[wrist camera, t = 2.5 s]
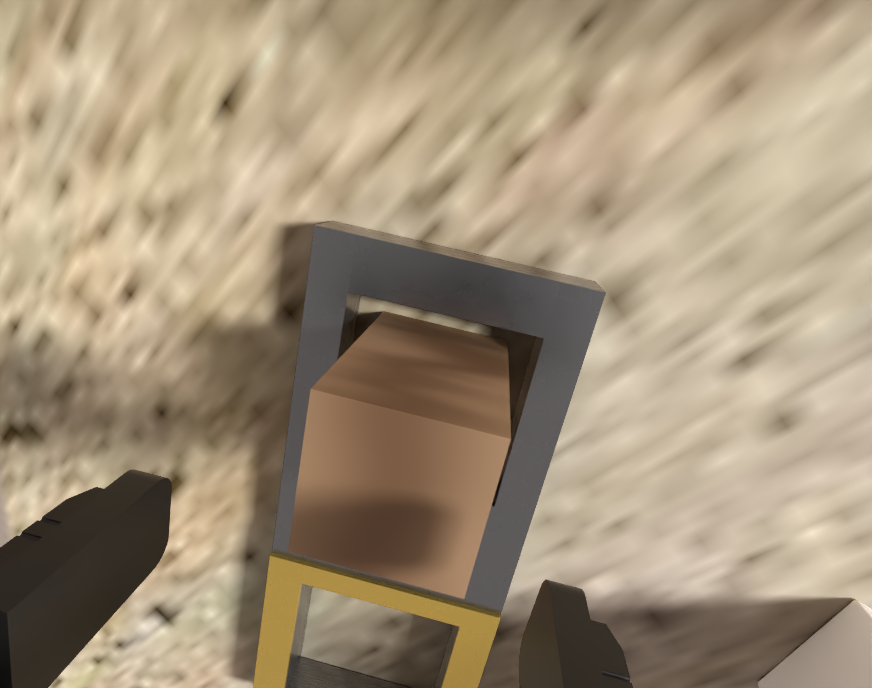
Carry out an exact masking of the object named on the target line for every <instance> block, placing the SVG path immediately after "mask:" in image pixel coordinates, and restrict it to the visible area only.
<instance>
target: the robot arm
mask: <svg viewBox="0 0 872 688" xmlns="http://www.w3.org/2000/svg"><path fill="white" fill-rule="evenodd" d="M171 489H172V486H171V482H170V480H169V479H168V478H164V477H161V476H157V475H153V474H149V473H145V472H142V471H138V470H130V471H127V472H126V473H124V474H123V475H122V476H121V477H119V478H118V479H117V480H115V481H114V482H113V483H112V484H110V485H109V486H108V487H106V488H105V489H102V488H98V487H95V488H93V489H90V490H88V491H86V492H83V493H81V494H78V495H76V496H73V497H71V498H69V499H66V500H65V501H64V502H62V503H61V504H59V505H58V506H57V507H55V508H54V509H53V510H51V511H50V512H48V513H47V514H46V515H44V516H43V517H42V519H41V521H36V522H35V523H33V524H32V525H31V526H29V527H28V528H27V529H25V530H24V531H22V534H21V535H20V536H16V537H14V538H13V539H11V540H10V541H9V542H7V543H6V544H5V545H3V546H2V547H0V688H48V687H49V686H50V685H51V684H52V683H53V681H54V680H55V679H56V678H57V677H58V676H59V675H60V674H61V672H62V671H63V670H64V669H65V668H66V667H67V666H68V665H69V664H70V662H71V661H72V660H73V659H74V658H75V657H76V656H77V655H78V653H79V652H80V651H81V650H82V649H83V648H84V647H85V646H86V644H87V643H88V642H89V641H90V640H91V639H92V638H93V637H94V636H95V634H96V633H97V632H98V631H99V630H100V629H101V628H102V627H103V625H104V624H105V623H106V622H107V621H108V620H109V619H110V618H111V617H112V615H113V614H114V613H115V612H116V611H117V610H118V609H119V608H120V606H121V605H122V604H123V603H124V602H125V601H126V600H127V599H128V598H129V596H130V595H131V594H132V593H133V592H134V591H135V590H136V589H137V587H138V586H139V585H140V584H141V583H142V582H143V581H144V580H145V579H146V577H147V576H148V575H149V574H150V573H151V572H152V571H153V569H154V568H155V567H156V566H157V564H158V563H159V561H160V559H161V557H162V556H163V553H164V551H165V549H166V546H167V542H168V537H169V522H170V506H171ZM519 684H520V688H633V686H632V683H630V676H629V672H628V668H627V665H626V661H625V657H624V654H623V650H622V648H621V647H620V645H619V644H618V642H617V641H616V639H615V638H614V636H613V635H612V633H611V631H610V630H609V628H608V627H607V625H606V624H603V623H599V622H596V621H592V620H590V616H589V611H588V607H587V602H586V597H585V594H584V591H583V590H582V589H580V588H576V587H572V586H568V585H564V584H561V583H557V582H553V581H549V580H545V581H544V582H543V583H542V585H541V588H540V591H539V593H538V596H537V599H536V602H535V604H534V607H533V610H532V613H531V615H530V618H529V621H528V624H527V626H526V629H525V632H524V635H523V638H522V643H521V648H520V656H519Z"/></svg>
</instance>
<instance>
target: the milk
mask: <svg viewBox="0 0 872 688" xmlns="http://www.w3.org/2000/svg"><path fill="white" fill-rule="evenodd" d="M758 687H759V688H872V609H871V608H869V607H868V606H866V605H864V604H863V603H861V602H859V601H857V600H854V601H852V602H851V603H850V604H849V605H848V606H846V607H845V608H844V609H843V610H842V611H841V612H839V613H838V614H837V615H836V616H835V617H834V618H832V619H831V620H830V621H829V622H828V623H826V624H825V625H824V626H823V627H822V628H821V629H819V630H818V631H817V632H816V633H815V634H814V635H812V636H811V637H810V638H809V639H808V640H807V641H805V642H804V643H803V644H802V645H801V646H800V647H798V648H797V649H796V650H795V651H794V652H793V653H791V654H790V655H789V656H788V657H787V658H786V659H784V660H783V661H782V662H781V663H780V664H779V665H777V666H776V667H775V668H774V669H773V670H772V671H770V672H769V673H768V674H767V675H766V676H765V677H763V678H762V679H761V680H760V681H759V682H758Z"/></svg>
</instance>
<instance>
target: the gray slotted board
mask: <svg viewBox="0 0 872 688" xmlns="http://www.w3.org/2000/svg"><path fill="white" fill-rule="evenodd" d="M605 293H606V292H605V291H604V290H603V289H602V288H601V287H600V286H599V285H598V284H597V283H596V282H595V281H591V280H586V279H582V278H578V277H573V276H569V275H565V274H560V273H556V272H552V271H547V270H543V269H539V268H534V267H530V266H526V265H522V264H517V263H513V262H509V261H504V260H500V259H496V258H491V257H487V256H483V255H478V254H474V253H470V252H465V251H461V250H457V249H452V248H448V247H444V246H439V245H435V244H431V243H426V242H422V241H418V240H413V239H409V238H405V237H400V236H396V235H392V234H387V233H383V232H379V231H374V230H370V229H366V228H361V227H357V226H353V225H348V224H344V223H340V222H335V221H331V222H326V223H321V224H316V225H314V232H313V239H312V247H311V255H310V263H309V270H308V278H307V286H306V294H305V301H304V309H303V317H302V324H301V332H300V340H299V348H298V355H297V363H296V371H295V378H294V386H293V394H292V402H291V409H290V417H289V425H288V433H287V440H286V448H285V456H284V463H283V471H282V479H281V487H280V494H279V502H278V510H277V517H276V525H275V533H274V541H273V548H272V553H271V555H270V559H269V567H268V575H267V582H266V590H265V598H264V606H263V614H262V621H261V629H260V637H259V645H258V653H257V660H256V668H255V676H254V684H253V688H409V687H406V686H402V685H398V684H395V683H391V682H388V681H384V680H381V679H377V678H374V677H370V676H367V675H363V674H359V673H356V672H352V671H349V670H345V669H342V668H338V667H335V666H331V665H328V664H324V663H320V662H317V661H313V660H310V659H306V658H303V657H301V652H302V646H303V640H304V634H305V628H306V622H307V616H308V610H309V603H310V597H311V591H312V586H313V587H316V588H320V589H324V590H327V591H331V592H335V593H338V594H342V595H346V596H349V597H353V598H357V599H360V600H364V601H368V602H371V603H375V604H379V605H382V606H386V607H389V608H393V609H397V610H400V611H404V612H408V613H411V614H415V615H419V616H422V617H426V618H430V619H433V620H437V621H441V622H444V623H448V624H452V625H453V626H452V630H451V633H450V637H449V640H448V643H447V647H446V650H445V654H444V657H443V661H442V664H441V668H440V671H439V675H438V678H437V681H436V685H435V688H478V686H479V683H480V680H481V676H482V673H483V670H484V667H485V664H486V661H487V658H488V655H489V652H490V649H491V646H492V643H493V640H494V637H495V634H496V631H497V628H498V625H499V622H500V619H501V612H502V609H503V606H504V602H505V599H506V596H507V593H508V590H509V587H510V584H511V581H512V578H513V575H514V572H515V569H516V566H517V563H518V560H519V557H520V554H521V550H522V547H523V544H524V541H525V538H526V535H527V532H528V529H529V526H530V523H531V520H532V517H533V514H534V511H535V508H536V505H537V502H538V498H539V495H540V492H541V489H542V486H543V483H544V480H545V477H546V474H547V471H548V468H549V465H550V462H551V459H552V456H553V453H554V450H555V446H556V443H557V440H558V437H559V434H560V431H561V428H562V425H563V422H564V419H565V416H566V413H567V410H568V407H569V404H570V401H571V397H572V394H573V391H574V388H575V385H576V382H577V379H578V376H579V373H580V370H581V367H582V364H583V361H584V358H585V355H586V352H587V349H588V345H589V342H590V339H591V336H592V333H593V330H594V327H595V324H596V321H597V318H598V315H599V312H600V309H601V306H602V303H603V300H604V297H605ZM361 295H365V296H369V297H373V298H377V299H381V300H386V301H390V302H394V303H398V304H402V305H407V306H411V307H415V308H419V309H423V310H427V311H432V312H436V313H440V314H444V315H448V316H453V317H457V318H461V319H465V320H469V321H474V322H478V323H482V324H486V325H490V326H494V327H499V328H503V329H507V330H511V331H515V332H520V333H524V334H528V335H532V336H536V340H535V343H534V346H533V350H532V353H531V357H530V360H529V364H528V367H527V371H526V374H525V378H524V381H523V384H522V388H521V391H520V395H519V398H518V402H517V405H516V409H515V412H514V416H513V419H512V422H511V441H510V444H509V448H508V451H507V454H506V458H505V461H504V465H503V468H502V472H501V475H500V478H499V482H498V485H497V489H496V492H495V495H494V499H493V502H492V506H491V509H490V513H489V516H488V519H487V523H486V526H485V530H484V533H483V536H482V540H481V543H480V547H479V550H478V554H477V557H476V560H475V564H474V567H473V571H472V574H471V577H470V581H469V584H468V588H467V591H466V595H465V598H464V599H462V598H458V597H455V596H451V595H447V594H443V593H440V592H436V591H432V590H429V589H425V588H421V587H418V586H414V585H410V584H406V583H403V582H399V581H395V580H392V579H388V578H384V577H380V576H377V575H373V574H369V573H366V572H362V571H358V570H354V569H351V568H347V567H343V566H340V565H336V564H332V563H328V562H325V561H321V560H317V559H314V558H310V557H306V556H302V555H299V554H295V553H291V552H288V545H289V538H290V531H291V524H292V517H293V510H294V503H295V496H296V489H297V482H298V475H299V468H300V461H301V453H302V446H303V439H304V432H305V425H306V418H307V411H308V404H309V397H310V390H311V388H312V387H313V386H314V385H315V384H316V383H317V382H318V381H319V379H320V378H321V377H322V376H323V375H324V374H325V373H326V372H327V371H328V370H329V369H330V368H331V367H332V366H333V365H334V364H335V362H336V361H337V360H338V359H339V358H340V357H341V356H342V355H343V354H344V353H345V352H346V351H347V350H348V349H349V348H350V347H351V345H352V344H353V338H354V332H355V326H356V320H357V314H358V308H359V302H360V296H361Z"/></svg>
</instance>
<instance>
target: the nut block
mask: <svg viewBox="0 0 872 688" xmlns="http://www.w3.org/2000/svg"><path fill="white" fill-rule="evenodd" d="M510 441H511V423H510V392H509V361H508V341H505V340H501V339H497V338H493V337H489V336H484V335H480V334H476V333H472V332H468V331H464V330H459V329H455V328H451V327H447V326H443V325H439V324H434V323H430V322H426V321H422V320H418V319H414V318H409V317H405V316H401V315H397V314H393V313H389V312H383V313H382V314H381V315H380V316H379V317H378V318H377V319H376V320H375V321H374V322H373V323H372V324H371V325H370V326H369V327H368V329H367V330H366V331H365V332H364V333H363V334H362V335H361V336H360V337H359V338H358V339H357V340H356V341H355V342H354V343H353V344H352V345H351V347H350V348H349V349H348V350H347V351H346V352H345V353H344V354H343V355H342V356H341V357H340V358H339V359H338V360H337V361H336V362H335V364H334V365H333V366H332V367H331V368H330V369H329V370H328V371H327V372H326V373H325V374H324V375H323V376H322V377H321V378H320V379H319V381H318V382H317V383H316V384H315V385H314V386H313V387H312V388H311V390H310V397H309V404H308V411H307V418H306V425H305V432H304V439H303V446H302V453H301V461H300V468H299V475H298V482H297V489H296V496H295V503H294V510H293V517H292V524H291V531H290V538H289V545H288V552H291V553H295V554H299V555H302V556H306V557H310V558H314V559H317V560H321V561H325V562H328V563H332V564H336V565H340V566H343V567H347V568H351V569H354V570H358V571H362V572H366V573H369V574H373V575H377V576H380V577H384V578H388V579H392V580H395V581H399V582H403V583H406V584H410V585H414V586H418V587H421V588H425V589H429V590H432V591H436V592H440V593H443V594H447V595H451V596H455V597H458V598H462V599H464V598H465V595H466V591H467V588H468V584H469V581H470V577H471V574H472V571H473V567H474V564H475V560H476V557H477V554H478V550H479V547H480V543H481V540H482V536H483V533H484V530H485V526H486V523H487V519H488V516H489V513H490V509H491V506H492V502H493V499H494V495H495V492H496V489H497V485H498V482H499V478H500V475H501V472H502V468H503V465H504V461H505V458H506V454H507V451H508V448H509V444H510Z"/></svg>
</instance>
